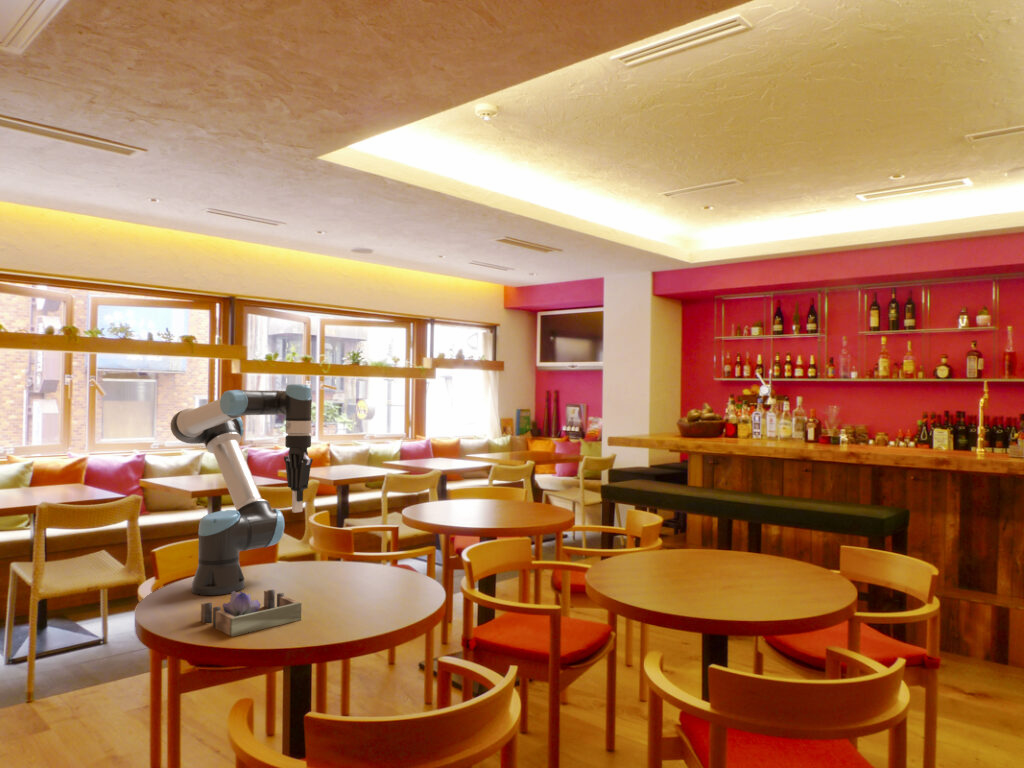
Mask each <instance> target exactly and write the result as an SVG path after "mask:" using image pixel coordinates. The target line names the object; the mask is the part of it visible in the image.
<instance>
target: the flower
mask: <svg viewBox="0 0 1024 768" xmlns="http://www.w3.org/2000/svg"><path fill="white" fill-rule="evenodd" d="M251 597H252V595H251V593H247V594H246V593H245V592H243V591H242V590H239V592H235V591H234V592H232V593H230V598H229V599H230V600H229V602H228V603H227V602H225V603H222V609H223V611H224V612H226V613H228V614H230V615H232V616H234V617H236V616H241V615H245V614H249V613H254V612H258V611H260V607H261V602H259V600H258V599H252V598H251Z"/></svg>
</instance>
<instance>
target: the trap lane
mask: <svg viewBox="0 0 1024 768" xmlns="http://www.w3.org/2000/svg"><path fill="white" fill-rule="evenodd" d="M275 591H276V590H275V589H268V590H264V591H263V607H264V608H266V607H267V608H266V609H263V610H258V612H254V613H249V614H245V615H241V616H236V617H234V616H232V615H230V614H228V613H226V612H225V611H224V610H221V609H222V608H221V607H222V606H213V603H212V602H206V603H201V604H200V622H202V621H204V622H203V623H204V624H205V623H210V624H212V629H216V628H217V629H216V630H218V629H219V630H218V631H220V630H221V631H220V632H222V631H223V633H224V634H226V635H228V636H230V637H232V638H233V637H236V636H240V635H245V634H248V632H249V633H252V631H253V632H257V631H261V630H265V629H269V628H273V627H277V626H281V625H285V624H288V623H289V624H290V623H292V622H293V623H294V622H298V621H301V620H302V602H300V601H298V600H294V599H292V598H289V597H287V596H285V593H284V592H279V593H277V594H275V593H276V592H275ZM275 598H276V601H275ZM275 603H276V604H275ZM275 605H276V607H275ZM260 629H261V630H260ZM256 630H257V631H256Z"/></svg>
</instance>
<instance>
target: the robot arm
mask: <svg viewBox="0 0 1024 768" xmlns="http://www.w3.org/2000/svg"><path fill="white" fill-rule="evenodd" d="M312 400H313V396H312V387H311V385H310V384H297V383H296V384H294V383H293V384H292V383H291V384H287V385H286V388H285V390H249V389H248V390H242V389H233V390H231V389H230V390H226V391H224V392H223V394H221V395H220V398H218V399H215V400H213V401H211V402H208V403H206V404H203V405H201V406H199V407H196V408H193V407H192V408H189V407H188V408H185V409H183V410H180V411H178V412H177V413H176V414H174V415H173V417H172V418H171V421H170V431H171V433H172V435H173V436H174V437H175V439H176V440H178V441H180V442H182V443H185V444H192V445H193V444H196V445H197V444H204V446H205V449H206V451H208V452H209V453H210V454H213V455H214V458H215V460H216V463H217V465H218V468H219V471H220V473H221V475H222V478H223V480H224V482H225V486H226V487H227V490H228V493H229V495H230V497H231V500H232V503H233V505H234V508H235V509H228V510H221V511H215V512H214V511H213V512H211V513H208V514H206V515H204V516H203V517H202V518H200V520H199V524H198V531H197V532H198V565H197V568H196V571H195V574H194V577H193V580H192V582H191V592H192V594H194V593H195V594H194V595H198V594H200V596H219V595H227V594H231V593H232V592H234V591H235V593H237V592H240V591H242V590H243V589H245V587H246V586H245V584H246V583H245V581H246V580H245V576H244V574H243V570H242V567H241V564H240V552H243V551H244V552H245V551H249V550H255V549H261V548H268V547H271V546H274V545H276V544H278V543H279V542H280V541H281V539H282V538H283V536H284V532H285V517H284V515H283V512H282V511H281V510H279V509H278V508H272V506H271V505H270V502H269V501H268V500H267V499H263V498H262V495H261V493H260V490H259V489H258V486H257V483H256V481H255V479H254V477H253V474H252V471H251V469H250V466H249V464H248V463H247V460H246V458H245V455H244V452H243V450H242V448H241V444H240V443H241V441H242V437H243V435H244V431H245V430H244V422H243V419H242V417H245V416H273V415H274V416H275V415H276V416H278V415H279V416H281V415H282V416H285V424H284V426H285V433H286V434H287V435H286V436H285V437H284V438H285V439H284V440H285V442H284V443H285V448H289V449H288V455H286V456H285V455H284V457H283V461H284V464H285V471H286V480H287V481H286V483H287V487H288V488H289V489H290V490H291V501H292V503H291V513H296V514H297V513H303V511H304V503H303V501H304V491H305V490H308V488H309V482H310V481H309V480H310V474H311V473H310V472H311V467H312V464H313V460H314V459H313V458H312V457H311V458H310V457H309V453H308V448H311V447H312V436H311V435H310V434H312V409H313V408H312V405H313V404H312V403H313V401H312Z"/></svg>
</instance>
